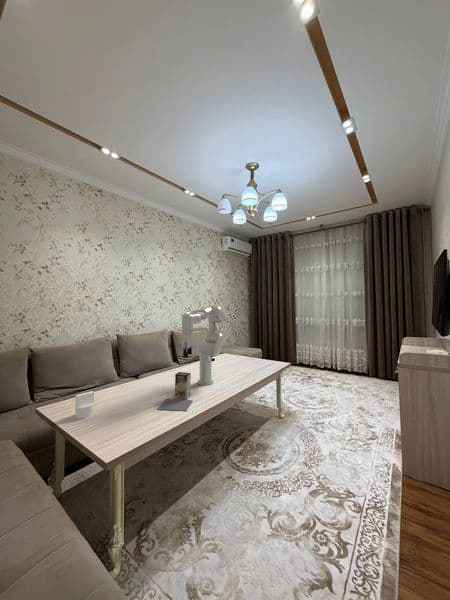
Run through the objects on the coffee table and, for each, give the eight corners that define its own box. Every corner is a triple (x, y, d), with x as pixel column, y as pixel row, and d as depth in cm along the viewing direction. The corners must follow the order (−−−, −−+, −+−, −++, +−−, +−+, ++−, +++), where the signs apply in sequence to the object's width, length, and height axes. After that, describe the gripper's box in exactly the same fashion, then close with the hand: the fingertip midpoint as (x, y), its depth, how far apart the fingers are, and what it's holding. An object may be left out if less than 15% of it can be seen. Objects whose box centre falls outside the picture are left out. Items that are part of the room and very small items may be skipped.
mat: (165, 399, 162) (165, 398, 162) (192, 400, 161) (192, 400, 161) (156, 409, 146) (156, 409, 146) (186, 411, 145) (186, 410, 145)
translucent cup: (89, 410, 145) (89, 389, 146) (96, 414, 140) (96, 393, 140) (72, 415, 138) (73, 394, 139) (79, 420, 133) (79, 398, 133)
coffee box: (174, 398, 165) (174, 374, 165) (178, 394, 171) (178, 371, 171) (187, 399, 162) (187, 375, 162) (190, 396, 168) (191, 372, 168)
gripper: (185, 330, 183) (186, 353, 183) (178, 333, 166) (178, 358, 166) (195, 330, 182) (195, 353, 182) (189, 333, 165) (189, 359, 165)
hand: (187, 355), depth 174 cm, fingers open, 9 cm apart
